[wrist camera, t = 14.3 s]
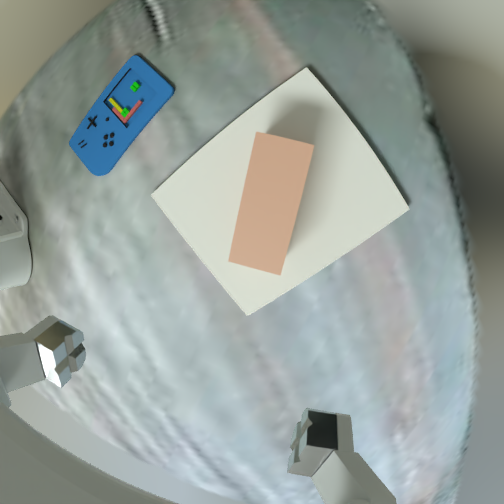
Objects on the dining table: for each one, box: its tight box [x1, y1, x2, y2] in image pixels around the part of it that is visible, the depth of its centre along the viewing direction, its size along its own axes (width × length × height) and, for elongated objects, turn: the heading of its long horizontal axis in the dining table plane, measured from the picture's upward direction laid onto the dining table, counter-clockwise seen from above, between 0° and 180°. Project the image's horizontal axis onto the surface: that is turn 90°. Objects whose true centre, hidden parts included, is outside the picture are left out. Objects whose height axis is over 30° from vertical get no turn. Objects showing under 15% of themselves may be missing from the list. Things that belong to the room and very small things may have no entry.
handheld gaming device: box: [69, 55, 174, 176], centre depth 31 cm, size 8×1×15 cm
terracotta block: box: [228, 132, 314, 275], centre depth 28 cm, size 5×5×12 cm
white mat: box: [151, 67, 409, 316], centre depth 31 cm, size 18×22×1 cm
